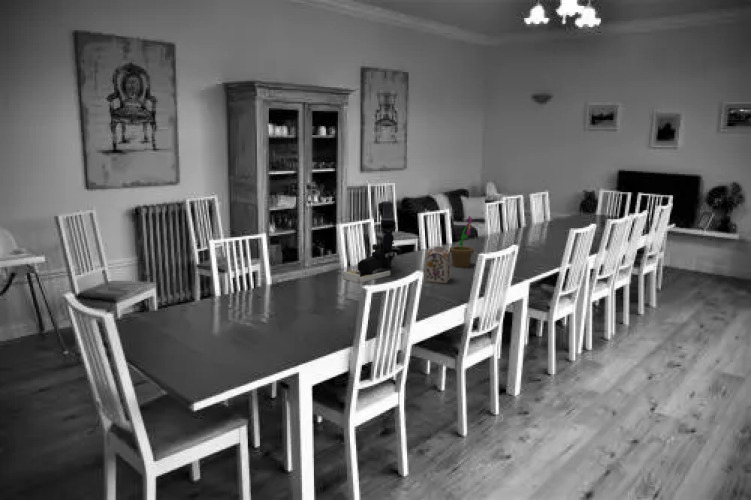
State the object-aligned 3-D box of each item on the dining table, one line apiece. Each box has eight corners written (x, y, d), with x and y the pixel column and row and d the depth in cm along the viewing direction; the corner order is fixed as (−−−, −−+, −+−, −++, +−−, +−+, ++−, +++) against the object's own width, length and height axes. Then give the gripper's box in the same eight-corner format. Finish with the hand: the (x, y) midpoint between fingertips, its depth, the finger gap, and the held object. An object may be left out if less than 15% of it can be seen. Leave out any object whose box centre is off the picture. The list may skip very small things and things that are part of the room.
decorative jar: (446, 284, 301) (447, 249, 298) (424, 282, 305) (425, 248, 301) (450, 278, 313) (451, 245, 309) (429, 276, 316) (430, 244, 312)
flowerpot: (470, 269, 334) (472, 217, 328) (445, 266, 339) (447, 215, 333) (475, 264, 347) (478, 214, 341) (452, 261, 352) (454, 212, 346)
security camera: (354, 279, 307) (354, 261, 305) (371, 272, 323) (371, 254, 321) (366, 281, 304) (366, 262, 302) (382, 274, 320) (382, 256, 318)
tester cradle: (374, 271, 325) (374, 262, 324) (390, 275, 317) (390, 266, 316) (342, 278, 309) (342, 269, 308) (358, 283, 300) (358, 273, 299)
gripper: (388, 236, 332) (387, 262, 335) (364, 240, 319) (364, 268, 322) (402, 239, 325) (402, 266, 328) (379, 243, 311) (379, 271, 315)
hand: (386, 267), depth 323 cm, fingers closed
